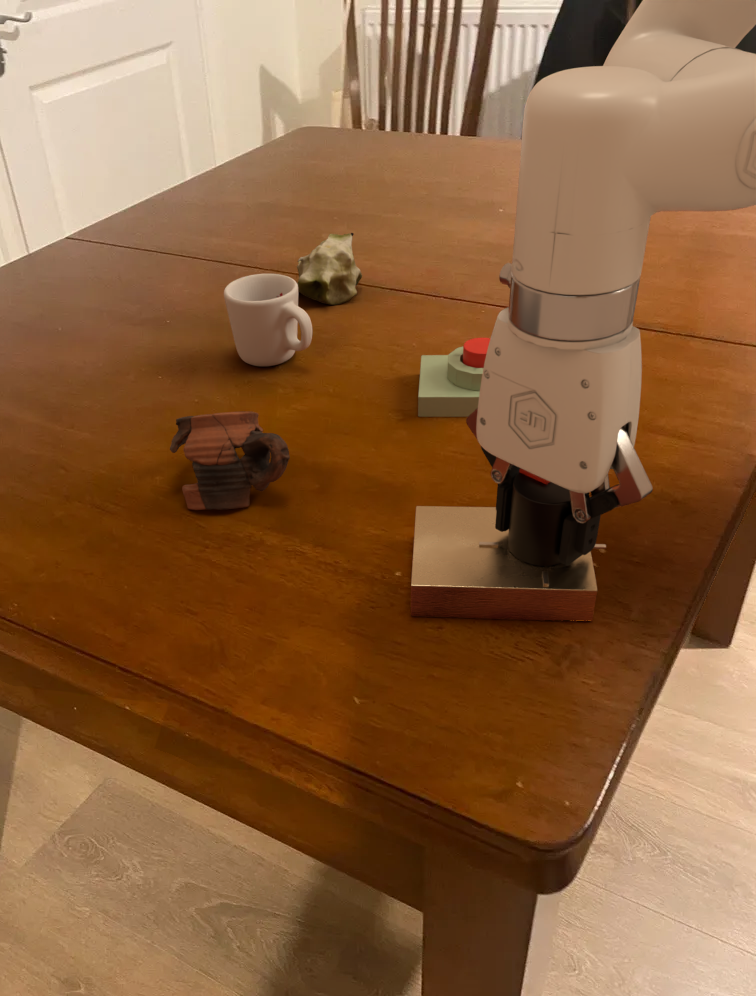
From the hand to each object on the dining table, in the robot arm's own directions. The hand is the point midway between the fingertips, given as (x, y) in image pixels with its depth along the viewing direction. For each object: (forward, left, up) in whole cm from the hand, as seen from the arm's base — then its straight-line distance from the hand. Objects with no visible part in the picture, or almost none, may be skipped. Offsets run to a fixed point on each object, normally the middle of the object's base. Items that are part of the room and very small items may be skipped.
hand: (543, 537), depth 68 cm
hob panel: (+3, 0, -4) cm, 5 cm away
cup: (+26, -37, -4) cm, 45 cm away
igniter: (+4, -29, -4) cm, 30 cm away
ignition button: (+4, -29, 0) cm, 29 cm away
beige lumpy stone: (+22, -55, -4) cm, 59 cm away
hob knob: (0, 0, -1) cm, 1 cm away
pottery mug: (+26, -12, -4) cm, 29 cm away
